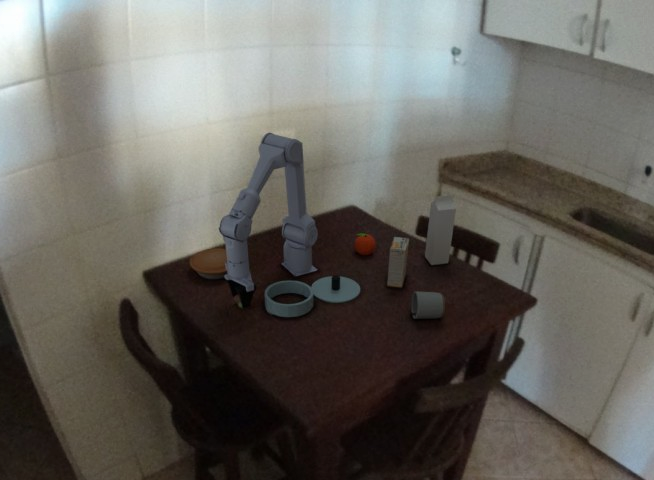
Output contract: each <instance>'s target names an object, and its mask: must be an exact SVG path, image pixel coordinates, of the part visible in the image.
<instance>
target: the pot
mask: <svg viewBox="0 0 654 480" xmlns="http://www.w3.org/2000/svg"><path fill="white" fill-rule="evenodd" d="M282 294H283V295H284V294H298V295H301V296H304V298H306V299H304V300H303V301H300V302H297V303H281V302H278V301H274V300H273V298H274V297H276V296H279V295H282ZM264 307H265V310H266V311H267V313H269V314H270V315H272V316H273V315H275V316H278V317H283V318H295V317H300V316H303V315H305V314H308V313H309V312H310V311H311V310H312V309H313V307H314V295H313V290H312V288H311V285H309V284H307V283H305V282H303V281H299V280H291V279H290V280H281V281H276V282H274V283H272V284H270V285H268V286H267V287H266V289H265V290H264Z"/></svg>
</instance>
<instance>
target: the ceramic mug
mask: <svg viewBox="0 0 654 480" xmlns="http://www.w3.org/2000/svg"><path fill="white" fill-rule="evenodd" d="M445 310H446V299H445V296H444V295H443V293H441V292H435V291H433V292H432V291H414V292H413V294H412V297H411V313H412V318H413V319H414V320H429V319H430V320H432V319H435V320H437V319H440V318H442V317H443V316H444V314H445Z"/></svg>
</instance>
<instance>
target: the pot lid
mask: <svg viewBox="0 0 654 480" xmlns="http://www.w3.org/2000/svg"><path fill="white" fill-rule="evenodd" d="M310 287H311V288H312V290H313V297H315V298H316V299H318V300H319V301H322V302H326V303H331V304H341V303H347V302H351V301H353V300H355V299H356V298H358V297H359V296H360V294H361V286H360V284H359V283H358V282H356V281H355V280H354V279H352V278H349V277H346V276H339V275H333V276H331V275H330V276H324V277H321V278H319V279H317V280H315V281H314V282H313V283H312V284H311V285H310Z"/></svg>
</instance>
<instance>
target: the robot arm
mask: <svg viewBox="0 0 654 480" xmlns="http://www.w3.org/2000/svg"><path fill="white" fill-rule="evenodd" d="M258 155H259V158H258V160H257V162H256V164H255V167H254V170H253V172H252V175H251V177H250V179H249V182H248V185H247V187H246V188H243V189H240V191H239V193H238V194H237V197H236V199H235V201H234V202H233V205H232V207H231V209H230V211H229V214H226V215H224V216H223V217H222V218H221V220H220V222H219V227H218V232H219V234H220V235H221V236H222V241H224V243H225V249H226V255H227V263H225V268H226V270H227V273H226V274H224V275H223V276H224V278H223V279H225V282H227V283H226V284H227V285H228V286H229V289H230V290H229V291H230V293H231V295H232V297H233V298H234V297H235V296H236V295H238V294H239V297H240V301H241V305H242V307H243V308H246V309H248V308H250V307H251V304H252V301H253V296H254V294H255V292H256V290H257V287H258V286H257V284H255V283H254V282H253V279H252V274H251V271H250V261H249V259H250V258H249V248H248V238H249V237H250V235H251V232H252V225H253V217H254V215H255V214H256V212H257V209H258V208H259V206H260V203H261V197H260V194H261V193H262V192H261V191H263V189H264V187H265V185H266V184H267V182H268V181H269V178H270V177H271V176H272V174H273V172H274V170H278V169H282V168H284V178H285V189H286V200H287V201H286V203H287V211H288V214H286V215H284V217H283V219H282V227H281V236H282V237H283V239H284V240H285V241H284V243H283V262H281V265H282V266H283V267H284V268H285V269H286V270H287V271H289V273H291V274H292V275H293V276H294V277H298V276H301V275H305V274H309V273H313V272H316V271H318V268H316V267H315V266H314V265H313V245H315V243H316V242H317V240H318V237H319V233H318V229H317V227H316V220H314V219H313V217H311V215H309V213H308V211H307V210H308V209H307V195H306V181H305V180H306V179H305V165H304V164H305V163H304V147H303V142H302V141H300V140H299V139H296V138H290V137H288V136H283V135H280V134H279V135H278V134H275V133H273V132H266V133H265V134H263V136H262V138H261V140H260V144H259V146H258ZM247 307H248V308H247Z"/></svg>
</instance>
